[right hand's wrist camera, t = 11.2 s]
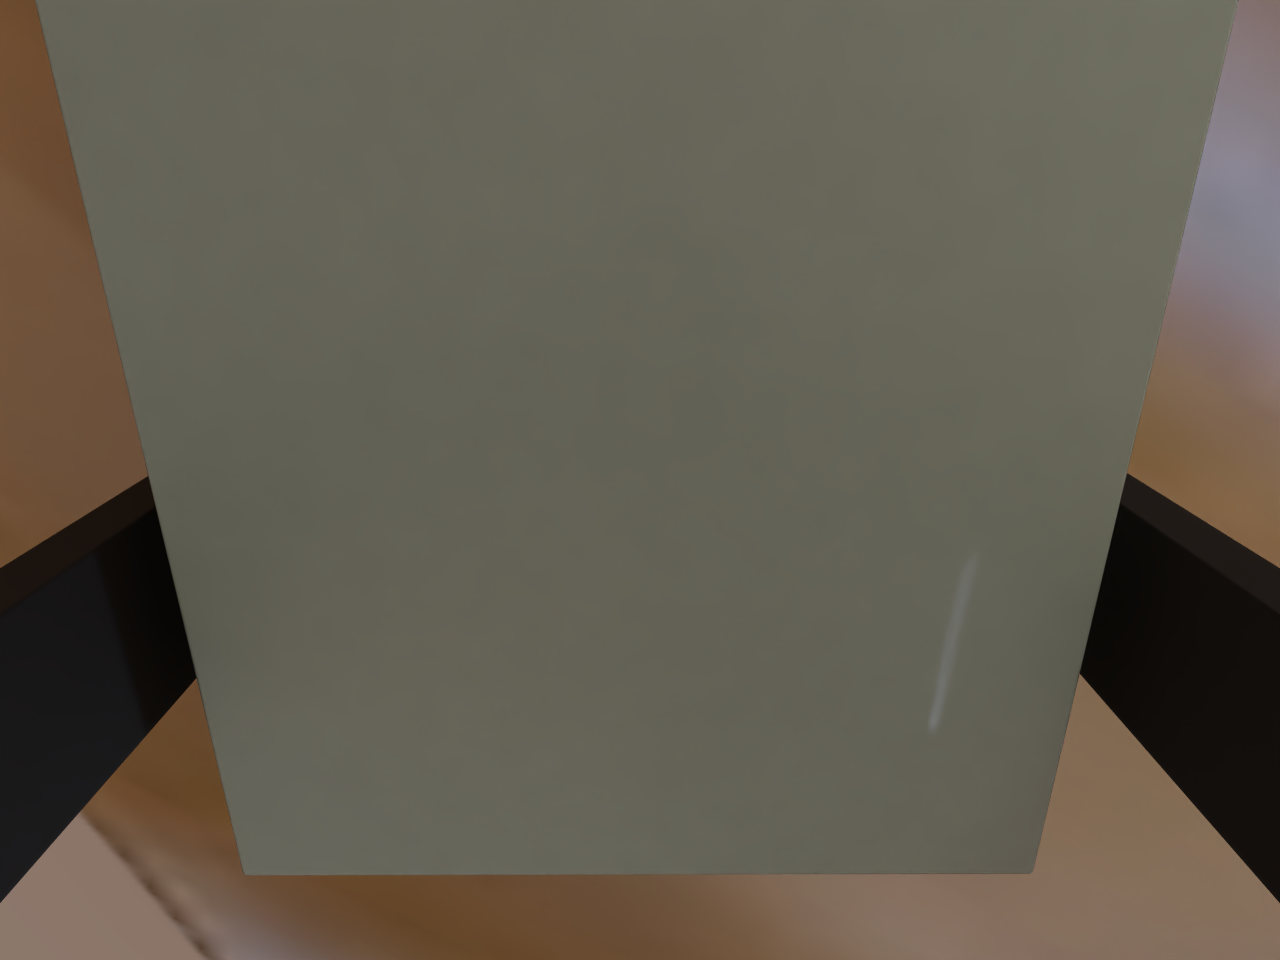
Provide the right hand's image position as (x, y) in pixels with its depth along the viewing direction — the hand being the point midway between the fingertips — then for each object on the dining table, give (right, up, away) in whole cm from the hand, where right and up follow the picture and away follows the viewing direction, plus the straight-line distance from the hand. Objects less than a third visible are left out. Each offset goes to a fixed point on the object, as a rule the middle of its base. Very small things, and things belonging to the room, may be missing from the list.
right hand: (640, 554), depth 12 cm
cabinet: (0, +8, +5) cm, 9 cm away
